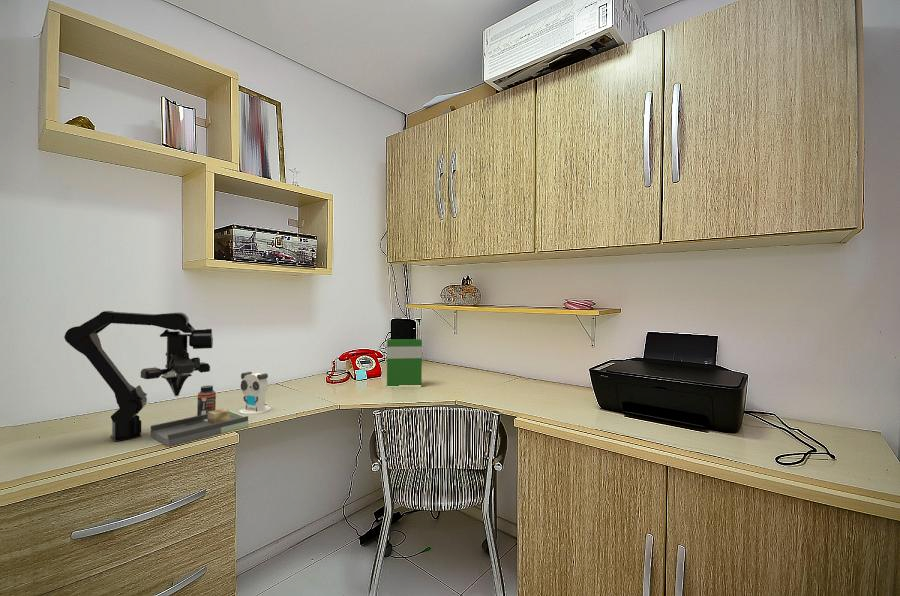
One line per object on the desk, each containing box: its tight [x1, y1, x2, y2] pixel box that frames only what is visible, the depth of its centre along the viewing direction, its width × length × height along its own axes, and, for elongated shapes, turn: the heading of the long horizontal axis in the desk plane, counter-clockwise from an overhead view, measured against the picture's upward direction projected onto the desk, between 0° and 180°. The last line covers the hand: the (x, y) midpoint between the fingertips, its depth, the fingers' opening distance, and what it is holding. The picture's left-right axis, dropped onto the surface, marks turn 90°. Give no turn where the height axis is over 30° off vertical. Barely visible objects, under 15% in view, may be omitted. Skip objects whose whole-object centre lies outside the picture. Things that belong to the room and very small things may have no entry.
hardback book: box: [386, 338, 423, 387], centre depth 206 cm, size 18×7×24 cm, turn 98°
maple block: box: [208, 408, 230, 424], centre depth 138 cm, size 5×5×4 cm
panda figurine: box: [238, 371, 271, 415], centre depth 160 cm, size 12×11×15 cm
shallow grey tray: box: [150, 409, 249, 448], centre depth 134 cm, size 24×15×4 cm, turn 144°
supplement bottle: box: [196, 385, 217, 416], centre depth 152 cm, size 6×6×11 cm
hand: (176, 395), depth 134 cm, fingers closed
